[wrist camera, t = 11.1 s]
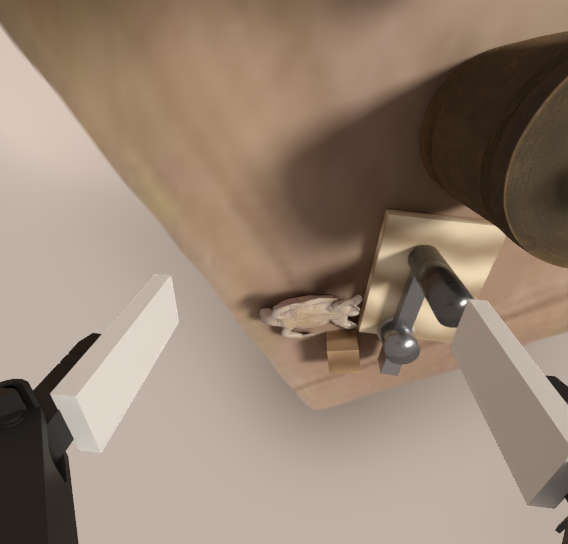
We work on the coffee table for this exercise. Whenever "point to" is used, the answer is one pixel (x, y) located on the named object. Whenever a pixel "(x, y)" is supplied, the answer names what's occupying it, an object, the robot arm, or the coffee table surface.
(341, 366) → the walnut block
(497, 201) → the wooden container
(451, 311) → the lever
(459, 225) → the board
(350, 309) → the beige animal figurine
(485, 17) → the coffee table surface
